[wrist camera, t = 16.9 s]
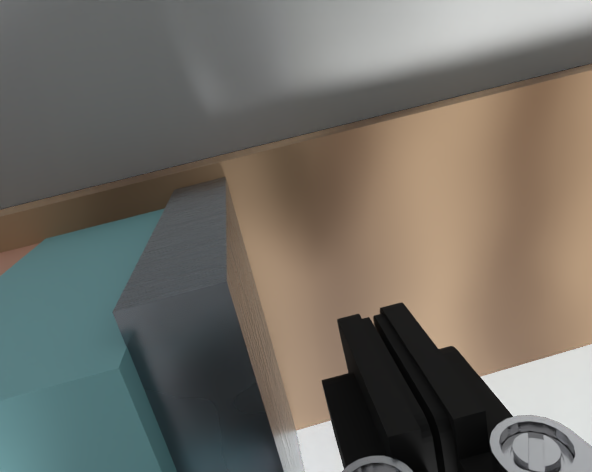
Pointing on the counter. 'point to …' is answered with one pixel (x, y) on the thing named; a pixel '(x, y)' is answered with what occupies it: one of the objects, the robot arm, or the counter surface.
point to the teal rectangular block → (75, 358)
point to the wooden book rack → (398, 227)
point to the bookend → (206, 341)
